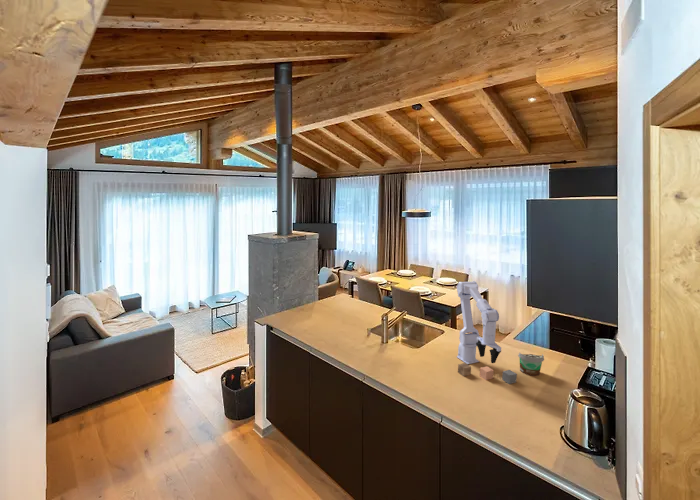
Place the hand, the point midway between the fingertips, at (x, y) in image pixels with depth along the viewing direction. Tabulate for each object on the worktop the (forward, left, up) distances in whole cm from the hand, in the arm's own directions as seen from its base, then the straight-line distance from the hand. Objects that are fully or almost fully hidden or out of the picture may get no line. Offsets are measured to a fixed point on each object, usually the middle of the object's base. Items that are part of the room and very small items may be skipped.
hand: (487, 359), depth 176 cm
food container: (+6, +24, -10) cm, 27 cm away
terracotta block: (0, 0, -10) cm, 10 cm away
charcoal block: (+7, +8, -10) cm, 14 cm away
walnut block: (-7, -8, -10) cm, 14 cm away
